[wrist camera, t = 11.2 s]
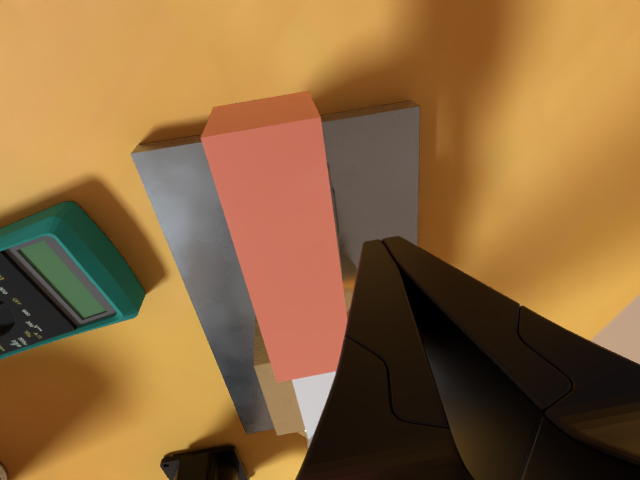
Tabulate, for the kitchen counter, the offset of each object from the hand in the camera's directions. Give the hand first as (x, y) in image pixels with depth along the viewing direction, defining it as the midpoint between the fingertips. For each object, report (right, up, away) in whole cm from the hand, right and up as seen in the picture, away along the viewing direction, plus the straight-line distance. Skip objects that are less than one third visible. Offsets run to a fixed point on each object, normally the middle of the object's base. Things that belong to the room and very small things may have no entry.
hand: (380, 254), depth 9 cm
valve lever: (-2, -2, +7) cm, 7 cm away
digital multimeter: (-20, -2, +14) cm, 25 cm away
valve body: (-2, -4, +17) cm, 18 cm away
